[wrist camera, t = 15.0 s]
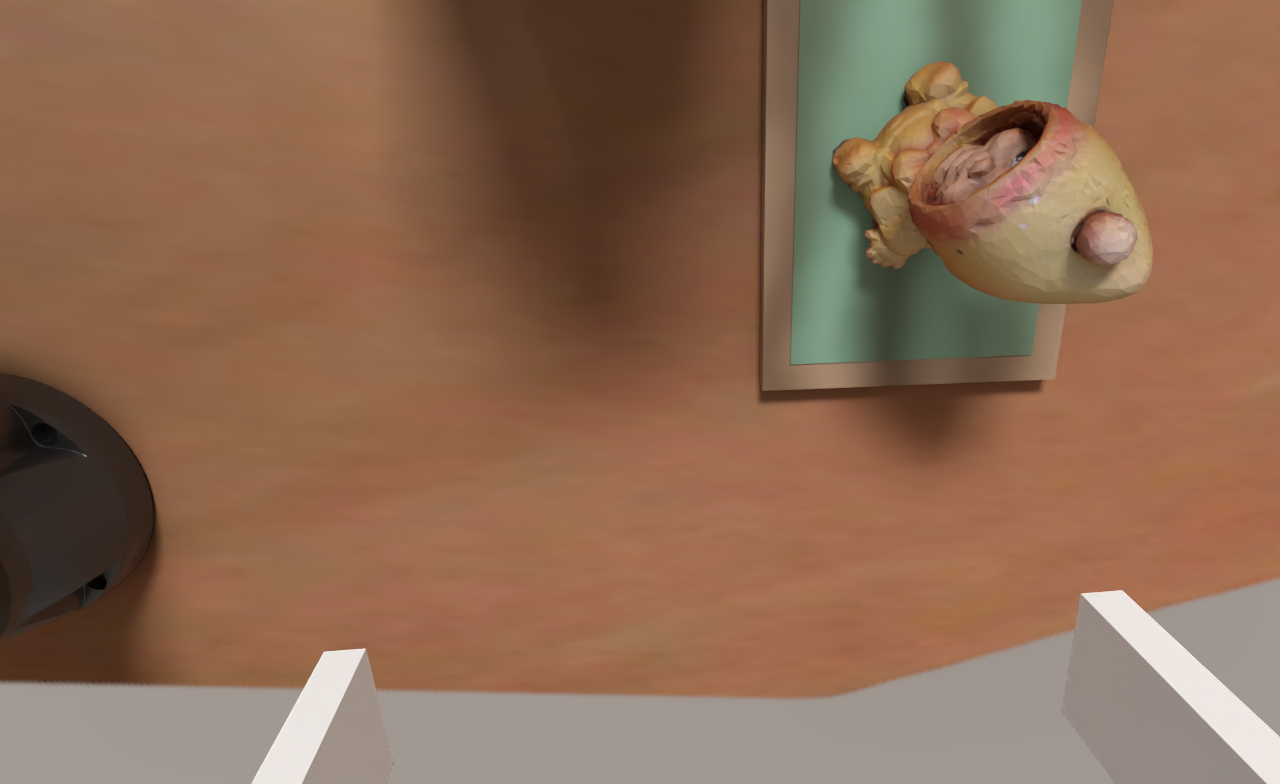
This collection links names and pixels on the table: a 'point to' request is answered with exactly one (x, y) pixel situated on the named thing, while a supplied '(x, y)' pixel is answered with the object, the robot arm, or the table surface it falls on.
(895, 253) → the figurine
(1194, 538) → the table surface
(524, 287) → the table surface
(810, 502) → the table surface
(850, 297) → the green framed board
